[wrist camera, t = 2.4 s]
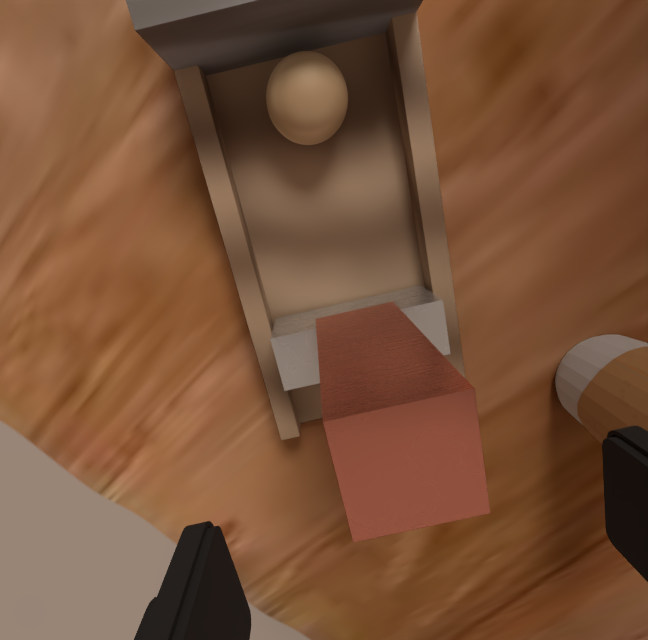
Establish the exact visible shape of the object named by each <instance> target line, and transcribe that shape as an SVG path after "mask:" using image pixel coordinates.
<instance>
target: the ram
mask: <svg viewBox="0 0 648 640" xmlns="http://www.w3.org/2000/svg"><path fill="white" fill-rule="evenodd" d="M270 340H271V344H272V348H273V351H274V355H275V358H276V362H277V366H278V369H279V373H280V376H281V380H282V384H283V387H284V391H287V390H291V389H296V388H300V387H305V386H309V385H314V384H318V383H320V389H321V403H322V417H323V425H324V428H325V432H326V436H327V440H328V444H329V448H330V452H331V456H332V460H333V464H334V468H335V472H336V476H337V480H338V484H339V488H340V492H341V496H342V499H343V503H344V507H345V511H346V515H347V519H348V523H349V527H350V531H351V535H352V539H353V542H358V541H362V540H367V539H372V538H376V537H381V536H386V535H390V534H395V533H400V532H404V531H409V530H414V529H418V528H423V527H428V526H432V525H437V524H442V523H446V522H451V521H456V520H460V519H465V518H470V517H474V516H479V515H484V514H489V513H490V507H489V499H488V491H487V483H486V475H485V468H484V460H483V452H482V444H481V436H480V428H479V421H478V413H477V405H476V397H475V389H474V387H473V386H472V385H471V384H470V383H469V382H468V381H467V380H466V379H465V378H464V377H463V376H462V375H461V374H460V373H459V371H458V370H457V369H456V368H455V367H454V366H453V365H452V364H451V363H450V362H449V361H448V360H447V359H446V358H445V357H444V355H448V354H451V353H450V346H449V339H448V332H447V325H446V318H445V311H444V304H443V300H442V299H441V298H439V297H438V296H436V295H435V294H433V293H432V292H430V291H429V290H427V289H426V288H424V287H423V286H421V285H420V286H415V287H411V288H407V289H402V290H398V291H393V292H389V293H385V294H380V295H376V296H371V297H367V298H363V299H358V300H354V301H349V302H345V303H341V304H336V305H332V306H327V307H323V308H319V309H314V310H310V311H305V312H301V313H297V314H292V315H288V316H284V317H279V318H276V321H275V324H274V327H273V331H272V334H271V338H270Z"/></svg>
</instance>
